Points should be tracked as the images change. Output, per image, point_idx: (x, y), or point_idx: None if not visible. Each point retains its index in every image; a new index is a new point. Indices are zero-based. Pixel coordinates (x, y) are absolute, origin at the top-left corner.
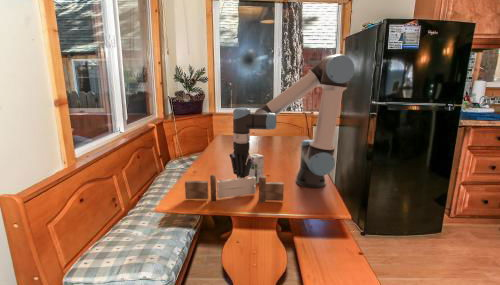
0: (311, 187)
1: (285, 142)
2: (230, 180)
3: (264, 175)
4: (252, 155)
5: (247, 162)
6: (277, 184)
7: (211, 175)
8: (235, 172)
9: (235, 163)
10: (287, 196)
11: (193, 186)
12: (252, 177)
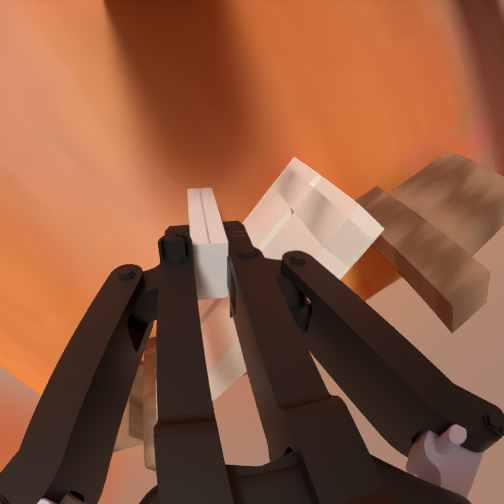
0: None
1: None
2: (221, 387)
3: (483, 279)
4: None
5: (404, 442)
6: (499, 225)
7: (153, 468)
8: (151, 327)
9: (106, 403)
10: (444, 86)
11: None
12: (351, 240)
